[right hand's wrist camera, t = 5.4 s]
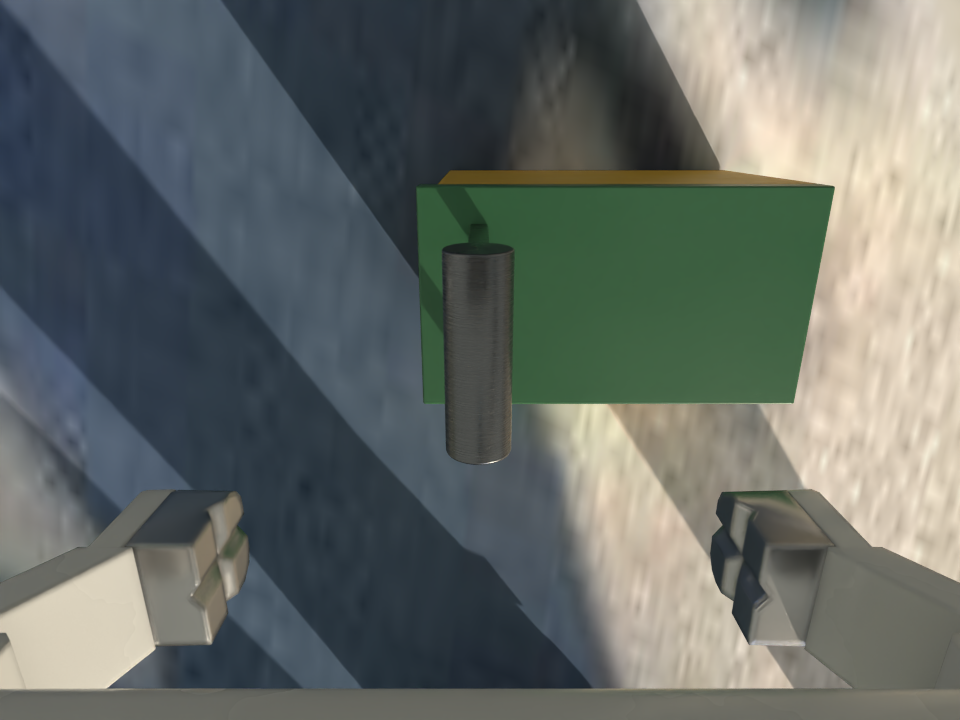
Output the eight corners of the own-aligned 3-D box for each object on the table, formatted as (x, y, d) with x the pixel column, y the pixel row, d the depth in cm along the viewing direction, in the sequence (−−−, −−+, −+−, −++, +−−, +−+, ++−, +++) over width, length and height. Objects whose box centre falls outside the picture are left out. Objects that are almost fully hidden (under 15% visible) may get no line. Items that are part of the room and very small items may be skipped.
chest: (452, 326, 37) (441, 392, 27) (449, 170, 34) (436, 183, 24) (703, 326, 37) (780, 393, 27) (723, 170, 34) (819, 183, 24)
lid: (425, 393, 27) (402, 500, 19) (418, 184, 24) (387, 207, 16) (781, 393, 27) (906, 501, 19) (819, 183, 24) (987, 207, 16)
